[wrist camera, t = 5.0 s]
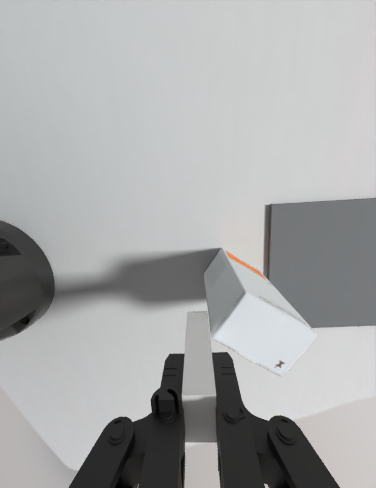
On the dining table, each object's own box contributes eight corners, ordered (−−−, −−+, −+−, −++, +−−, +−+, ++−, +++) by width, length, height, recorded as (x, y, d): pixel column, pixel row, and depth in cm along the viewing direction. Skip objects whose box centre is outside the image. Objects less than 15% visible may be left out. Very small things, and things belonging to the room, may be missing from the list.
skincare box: (261, 270, 25) (322, 336, 13) (241, 297, 26) (281, 380, 14) (220, 245, 24) (245, 291, 12) (201, 273, 25) (208, 340, 13)
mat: (266, 326, 27) (267, 329, 26) (270, 204, 23) (271, 204, 22) (382, 322, 26) (386, 325, 26) (406, 196, 22) (411, 196, 22)
